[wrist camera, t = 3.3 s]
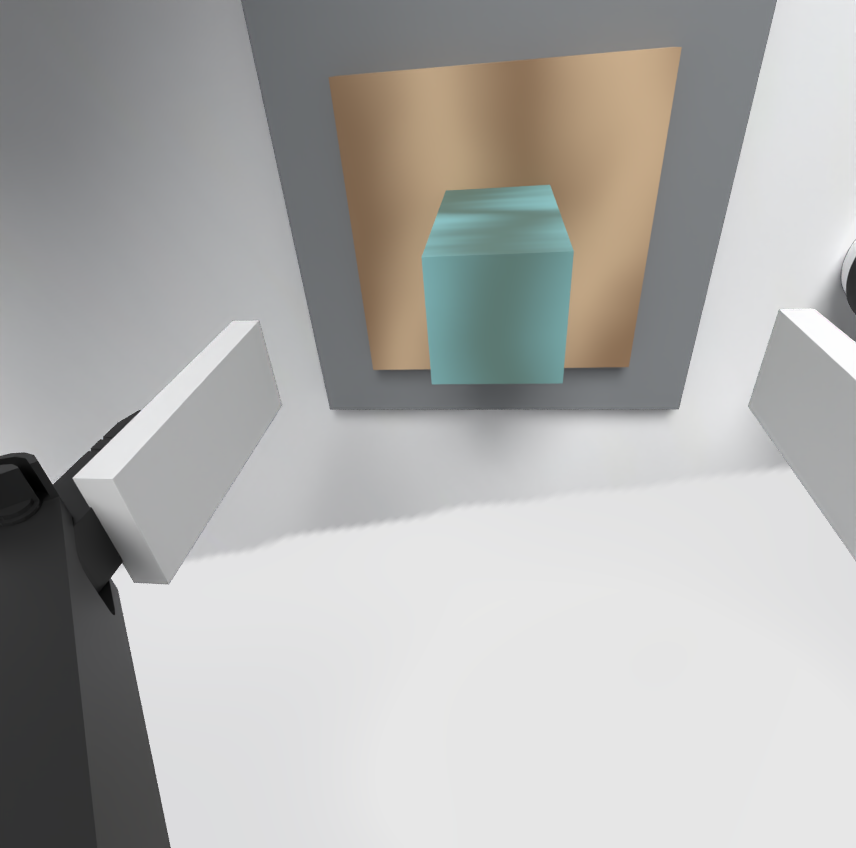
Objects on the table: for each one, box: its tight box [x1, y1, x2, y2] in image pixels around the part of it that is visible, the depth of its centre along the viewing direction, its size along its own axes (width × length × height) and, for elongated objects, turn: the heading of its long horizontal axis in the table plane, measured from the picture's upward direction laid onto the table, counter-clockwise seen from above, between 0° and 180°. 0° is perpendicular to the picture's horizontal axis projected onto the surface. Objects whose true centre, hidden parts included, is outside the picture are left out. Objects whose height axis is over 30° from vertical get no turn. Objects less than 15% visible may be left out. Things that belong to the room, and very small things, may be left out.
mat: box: [241, 0, 777, 409], centre depth 23 cm, size 18×18×1 cm
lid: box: [328, 47, 682, 384], centre depth 19 cm, size 12×12×9 cm
